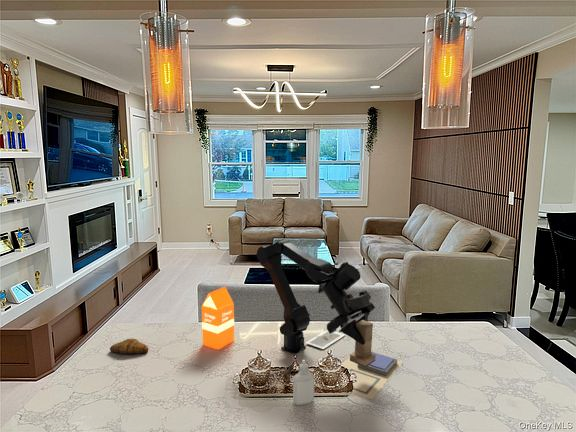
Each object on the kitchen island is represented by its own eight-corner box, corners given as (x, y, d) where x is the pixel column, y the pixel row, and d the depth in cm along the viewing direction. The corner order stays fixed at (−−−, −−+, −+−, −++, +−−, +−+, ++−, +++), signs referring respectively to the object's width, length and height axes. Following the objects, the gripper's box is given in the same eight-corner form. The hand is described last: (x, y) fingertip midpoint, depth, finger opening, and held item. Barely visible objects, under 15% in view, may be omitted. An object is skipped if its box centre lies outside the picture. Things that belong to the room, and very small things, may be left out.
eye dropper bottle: (313, 406, 108) (313, 365, 106) (292, 405, 108) (292, 363, 107) (314, 397, 112) (314, 357, 110) (294, 396, 113) (294, 356, 111)
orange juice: (234, 340, 147) (233, 288, 145) (218, 349, 140) (217, 295, 137) (218, 335, 151) (217, 284, 149) (202, 344, 144) (200, 291, 141)
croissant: (152, 348, 141) (151, 335, 140) (144, 357, 134) (143, 343, 134) (115, 347, 142) (114, 333, 141) (105, 356, 135) (104, 342, 135)
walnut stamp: (349, 360, 120) (351, 323, 119) (359, 354, 124) (361, 317, 123) (365, 367, 117) (367, 328, 115) (375, 360, 121) (377, 323, 119)
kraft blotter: (321, 381, 120) (321, 380, 120) (359, 348, 141) (359, 348, 141) (371, 400, 111) (371, 399, 111) (403, 361, 132) (403, 361, 132)
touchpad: (345, 337, 151) (345, 332, 151) (323, 352, 139) (323, 346, 139) (328, 331, 156) (328, 326, 156) (305, 345, 144) (305, 339, 144)
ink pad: (357, 367, 128) (357, 361, 128) (369, 355, 136) (370, 350, 136) (386, 376, 123) (386, 371, 122) (397, 363, 130) (397, 358, 130)
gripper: (335, 291, 113) (367, 340, 107) (371, 277, 127) (401, 320, 121) (313, 310, 120) (342, 357, 114) (349, 295, 133) (377, 336, 127)
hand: (367, 342), depth 119 cm, fingers closed on walnut stamp, 3 cm apart
